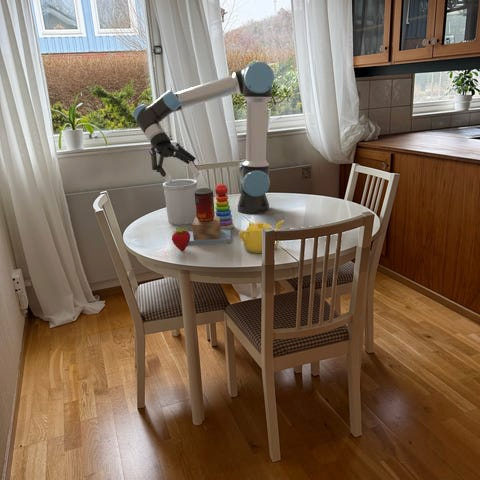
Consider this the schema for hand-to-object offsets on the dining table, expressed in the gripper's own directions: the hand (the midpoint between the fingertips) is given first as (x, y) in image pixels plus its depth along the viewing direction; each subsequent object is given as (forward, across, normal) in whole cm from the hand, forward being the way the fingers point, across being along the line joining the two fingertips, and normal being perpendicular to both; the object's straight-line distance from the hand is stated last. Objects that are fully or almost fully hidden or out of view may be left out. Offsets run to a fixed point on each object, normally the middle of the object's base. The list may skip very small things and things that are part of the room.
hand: (184, 178), depth 170 cm
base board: (+24, 0, -8) cm, 25 cm away
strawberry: (+26, +15, -6) cm, 31 cm away
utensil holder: (+4, -10, -28) cm, 30 cm away
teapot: (+42, -4, +10) cm, 43 cm away
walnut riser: (+23, 0, -7) cm, 24 cm away
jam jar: (+19, 0, -3) cm, 19 cm away
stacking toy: (+21, -13, -11) cm, 27 cm away
